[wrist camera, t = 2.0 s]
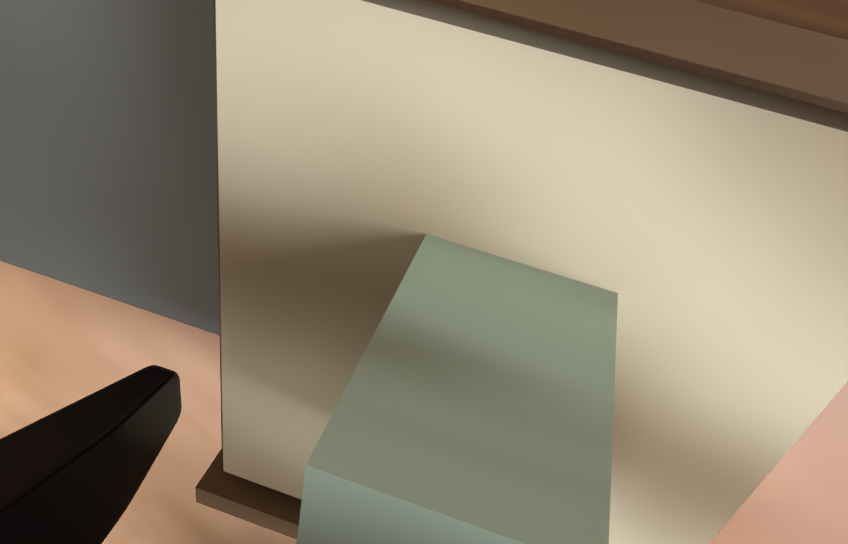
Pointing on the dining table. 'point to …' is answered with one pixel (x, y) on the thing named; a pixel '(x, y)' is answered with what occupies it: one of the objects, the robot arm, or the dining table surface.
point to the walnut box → (646, 38)
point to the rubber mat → (112, 150)
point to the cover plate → (534, 190)
